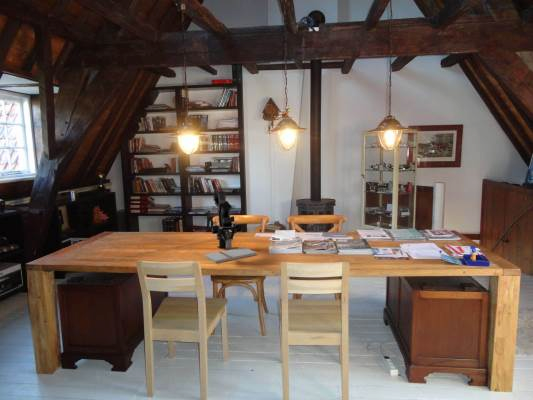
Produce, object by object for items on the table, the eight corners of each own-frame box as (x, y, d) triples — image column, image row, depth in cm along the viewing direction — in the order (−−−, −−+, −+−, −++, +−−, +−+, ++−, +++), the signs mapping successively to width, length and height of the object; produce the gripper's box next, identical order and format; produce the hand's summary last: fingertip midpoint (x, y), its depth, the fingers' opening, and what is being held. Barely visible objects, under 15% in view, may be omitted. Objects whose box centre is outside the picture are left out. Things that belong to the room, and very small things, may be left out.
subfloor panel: (204, 256, 247) (204, 254, 247) (244, 249, 263) (244, 247, 262) (215, 262, 234) (215, 260, 234) (256, 254, 249) (256, 252, 249)
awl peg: (224, 247, 240) (223, 232, 239) (229, 246, 243) (228, 231, 241) (228, 249, 237) (227, 233, 236) (233, 247, 240) (232, 231, 239)
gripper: (211, 213, 239) (213, 234, 230) (241, 211, 243) (245, 232, 234) (210, 223, 247) (213, 244, 238) (239, 221, 251) (243, 241, 242)
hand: (228, 240), depth 238 cm, fingers closed on awl peg, 4 cm apart
